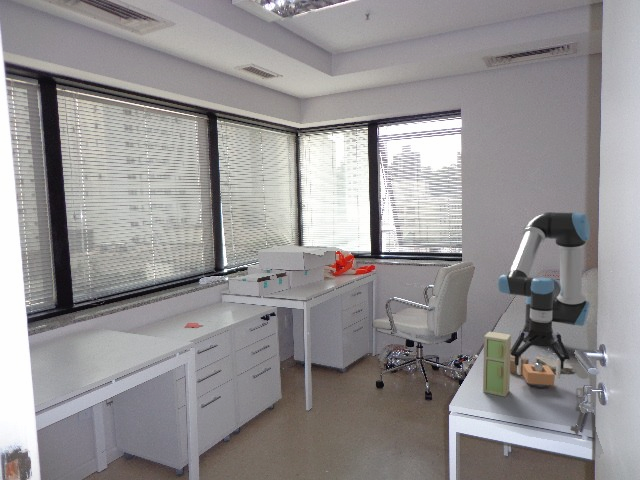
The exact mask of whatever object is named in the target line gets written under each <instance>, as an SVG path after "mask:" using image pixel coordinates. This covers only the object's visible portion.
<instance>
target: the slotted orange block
mask: <svg viewBox="0 0 640 480" xmlns="http://www.w3.org/2000/svg"><path fill="white" fill-rule="evenodd" d="M534 369H535V364H533V363H528V364H523V375H522V376H523V377H524V379H525V381H526V384H527V383H532V384H544V385H548V386H555V376H556V374H555V373H554V372H553V371H552V370H551V369H550V367H549V366H547V365H542V372H541V371H534Z"/></svg>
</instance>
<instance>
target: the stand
mask: <svg viewBox="0 0 640 480" xmlns="http://www.w3.org/2000/svg"><path fill="white" fill-rule="evenodd" d="M520 348H521V347H519V348H518V349H517V351H518V350H519V349H520ZM520 357H521V375H520V376H524V375H523V364H530V363H529V361H530V360H529V357H523V356H522V355H521V356H520ZM510 374H515V375H518V373H517V365H515V356H512V355H510Z"/></svg>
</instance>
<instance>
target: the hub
mask: <svg viewBox="0 0 640 480" xmlns="http://www.w3.org/2000/svg"><path fill="white" fill-rule="evenodd" d="M534 365H535V369H534V371H541V372H542V364H541V363H540V362H535V363H534ZM526 384H527V385H528V386H529V387H531V388H536V389H541V390H542V389H548V387H549V385H544V384H532V383H527V382H526Z"/></svg>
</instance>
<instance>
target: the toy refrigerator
mask: <svg viewBox="0 0 640 480" xmlns="http://www.w3.org/2000/svg"><path fill="white" fill-rule="evenodd" d="M483 336H484V337H483V338H484V340H483V376H482V377H483V378H482V380H483V381H482V392H483V393H485V394H491V395H493V396H494V395H495V396H499V397H504V398H506V397H507V395H508V394H509V392H510V377H511V372H510V357H511V354H510V351H511V349H512V346H511V345H512V344H511V343H512V335H511V334H509V333H508V334H507V333H501V332H495V331H494V332H493V331H488V332H487V333H486V334H484V335H483Z"/></svg>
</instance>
